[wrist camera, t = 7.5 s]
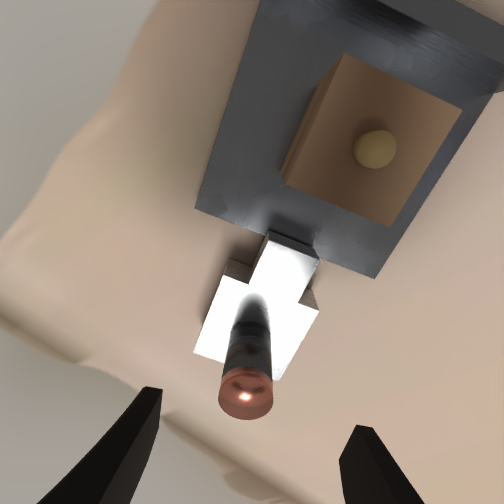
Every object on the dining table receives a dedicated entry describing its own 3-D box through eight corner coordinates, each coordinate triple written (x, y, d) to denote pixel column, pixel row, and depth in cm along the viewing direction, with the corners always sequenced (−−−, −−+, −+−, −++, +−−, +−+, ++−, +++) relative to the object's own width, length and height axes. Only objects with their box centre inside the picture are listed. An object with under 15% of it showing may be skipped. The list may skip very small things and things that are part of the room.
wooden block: (396, 121, 14) (480, 107, 8) (352, 202, 15) (398, 233, 10) (316, 84, 13) (351, 43, 8) (279, 172, 15) (288, 187, 10)
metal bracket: (495, 74, 14) (559, 55, 11) (370, 273, 18) (391, 299, 15) (274, -36, 12) (278, -93, 9) (197, 205, 17) (182, 218, 14)
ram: (333, 251, 17) (374, 315, 11) (276, 354, 20) (282, 450, 14) (245, 216, 17) (233, 262, 10) (201, 328, 20) (171, 415, 13)
